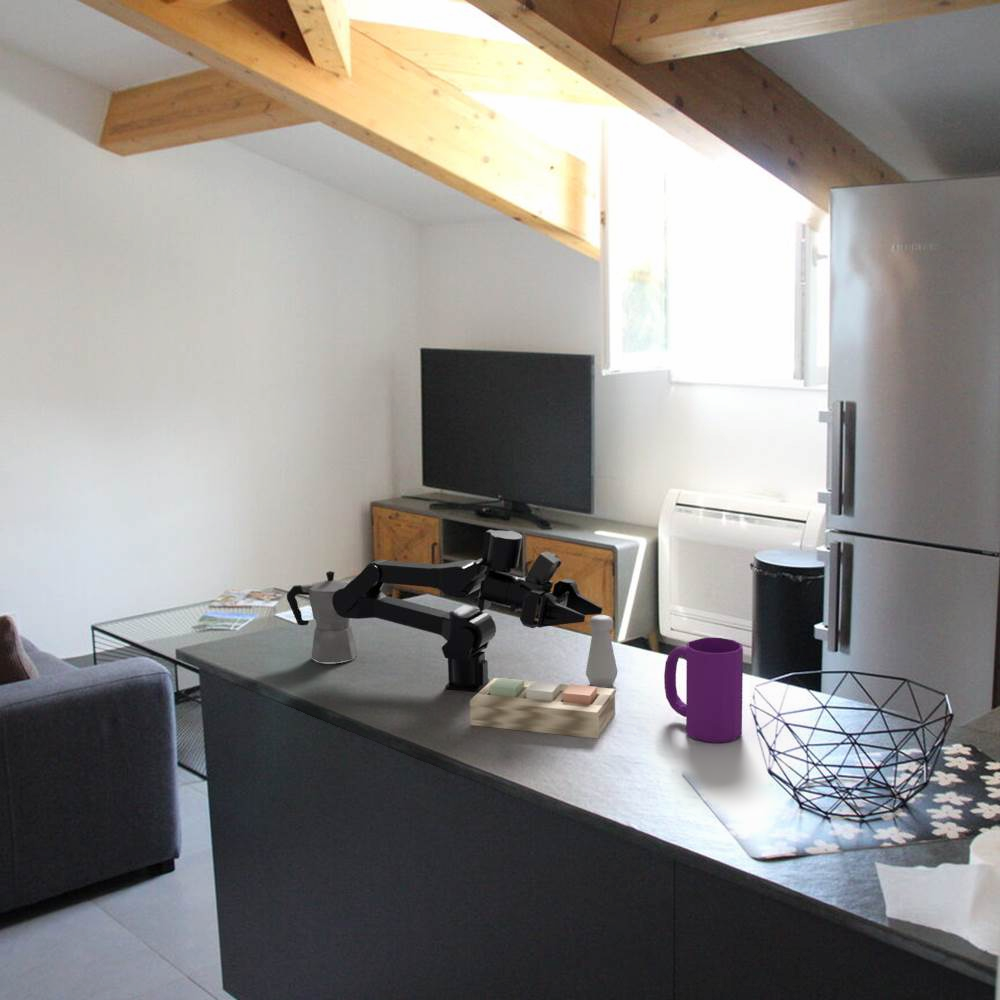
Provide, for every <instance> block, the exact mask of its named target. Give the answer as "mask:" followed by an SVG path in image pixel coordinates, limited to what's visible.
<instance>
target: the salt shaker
mask: <svg viewBox="0 0 1000 1000" xmlns="http://www.w3.org/2000/svg"><path fill="white" fill-rule="evenodd" d="M613 628H614V620H613V618H612V617H610V615H606V614H595V615H592V616H591V618H590V619H589V629H590V630H592V634H591V640H590V645H589V651H588V657H587V662H586V663H587V664H586V670H585V676H586V677H587V680H588V682H589V686H594V687H600V688H612V687H613V686H614V684H615V681H616V678H617V676H618V666H617V662H616V657H615V653H614V648H613V643H612V637H611V633H610V631H611V630H613Z"/></svg>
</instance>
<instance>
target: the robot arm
mask: <svg viewBox="0 0 1000 1000" xmlns="http://www.w3.org/2000/svg"><path fill="white" fill-rule="evenodd" d="M483 541H484V542H483V549H482V555H481V556H482V557H481V558H479V559H476V560H475V559H466V560H456V561H450V562H447V563H440V564H436V563H422V562H411V561H407V562H406V561H395V560H387V559H384V558H379V559H378V560H377V559H376V560H375V561H371V562H369V563H368V564H367V565H366V566H365V568H364V569H363V570H362V571H361V572H360V573H358V575H357V576H356V577H353V579H352V580H351V581H349V582H350V583H349V584H348V585H347V586H346V587H343V588H341V589H339V590H337V591H336V592H335V593H334V595H333V599H332V603H333V607H334V609H335V611H336V614H337V615H339V616H340V617H343V618H349V619H352V620H354V619H356V620H363V619H374V618H375V619H379V620H383V621H387V622H390V623H394V624H398V625H402V626H406V627H409V628H413V629H416V630H420V631H423V632H424V631H425V632H426V633H427V632H428V633H431V634H435V635H438V636H440V637H442V638H443V639H444V640H445V641H446V642H445V644H443V646H441V650H442V653H443V657H444V659H447V671H448V672H447V673H448V675H447V677H448V683H446V684H445V685H444V688H445V689H449V690H458V691H470V692H479V691H480V690H482V689H483V688H484V687H485V686H486V685H487V684H488V683H489V682H490V681H489V680H490V679H489V669H488V668H489V667H488V660H487V659H486V654H485V653H486V652H485V651H483V650H485V649H487V648H488V645H489V642H490V641H492V640H493V638H494V637H495V635H496V632H497V627H496V623H495V620H494V619H493V616H491V615H490V614H489V613H486V612H484V610H486V609H489V608H490V607H491V605H492V603H493V604H496V605H500V606H504V607H508V608H510V609H509V611H510V612H513V613H517V612H519V611H520V616H519V621H520V622H521V624H522V625H523V627H527V628H529V629H535V628H539V629H540V628H545V627H554V626H561V625H568V624H569V625H570V624H571V625H572V624H578V623H584V622H585V620H586V616H591V615H592V616H596V615H602V614H603V610H604V609H603V607H602V606H600V605H598V604H597V603H595V602H593V601H592V600H590V599H588V598H587V597H585V596H584V595H582V594H581V593H580V591H579V589H578V584H577V581H576V580H572V579H569V578H564V579H561V580H559V581H556V583H554V581H552V579H553V576H554V575H555V573H556V571H557V570H558V568H560V567H561V565H562V563H563V560H562V559H559V558H558V554H555V553H551V552H550V551H544V552H541V553H539V555H538V556H537V557H536V558H535V561H534V562H533V564H532V566H531V567H530V569H529V571H528V572H527V575H525V576H524V577H521V576H517V575H512V574H510V573H511V572H512V570H513V569H516V568H518V567H519V561H520V557H521V549H522V542H523V535H522V534H521V533H519V532H517V531H514V530H494V529H488V530H486V531H485V532H484V535H483ZM385 584H389V585H390V584H391V585H392V584H393V585H404V586H415V587H425V588H433V589H435V590H438V591H439V592H441V593H443V594H445V595H450V596H452V597H457V598H463V597H466V596H468V595H471V593H474V592H476V591H478V590H479V594H478V596H476V597H475V598H474V599H473V600H474V601H475V602H476V604H477V607H478V608H474V607H472V606H470V605H468V604H467V605H466V604H462V605H460V606H459V607H457V608H455V609H453V610H451V611H447V610H443V609H439V608H434V607H431V606H427V605H423V604H420V603H416V602H411V601H409V600H404V599H400V598H396V597H393V596H389V595H387V594H385V593H384V592H382V588H383V586H384V585H385ZM553 585H554V586H553ZM552 588H553V589H552ZM536 619H538V620H536Z"/></svg>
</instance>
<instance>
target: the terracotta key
mask: <svg viewBox="0 0 1000 1000" xmlns="http://www.w3.org/2000/svg"><path fill="white" fill-rule="evenodd" d="M569 685H570V686H569V687H568V688H567V689H566V690H565V692H564V693H563V702H568V703H579V704H589V705H592V704H593V702H594V701H595V700H596V699H597V687H594V686H592V685H580V684H569Z"/></svg>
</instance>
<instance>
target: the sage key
mask: <svg viewBox="0 0 1000 1000" xmlns="http://www.w3.org/2000/svg"><path fill="white" fill-rule="evenodd" d="M497 678H498V679H497V680H496V681H495V682H494V683H493V684H492V685H491V686H490V695H495V696H506V697H516V698H517V697H518V696H519V695H520V694H521V693H522V692H523V691H524V681H525V679H516V678H515V679H513V678H505V677H504V678H503V677H497Z"/></svg>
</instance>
